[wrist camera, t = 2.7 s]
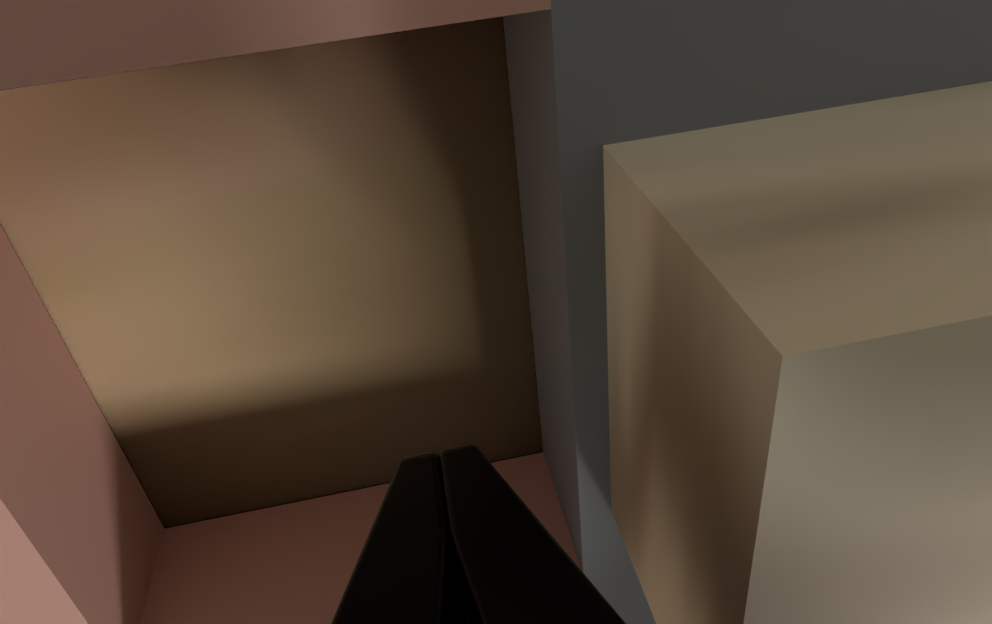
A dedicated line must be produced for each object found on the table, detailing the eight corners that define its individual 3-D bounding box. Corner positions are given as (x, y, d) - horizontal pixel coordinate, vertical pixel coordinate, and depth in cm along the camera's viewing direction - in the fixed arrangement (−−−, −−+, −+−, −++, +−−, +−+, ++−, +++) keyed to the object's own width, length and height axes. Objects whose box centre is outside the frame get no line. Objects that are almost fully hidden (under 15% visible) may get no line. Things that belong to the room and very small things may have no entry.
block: (964, 435, 12) (1202, 664, 9) (610, 510, 11) (720, 784, 8) (1094, 64, 9) (1565, 203, 5) (603, 145, 8) (783, 356, 5)
